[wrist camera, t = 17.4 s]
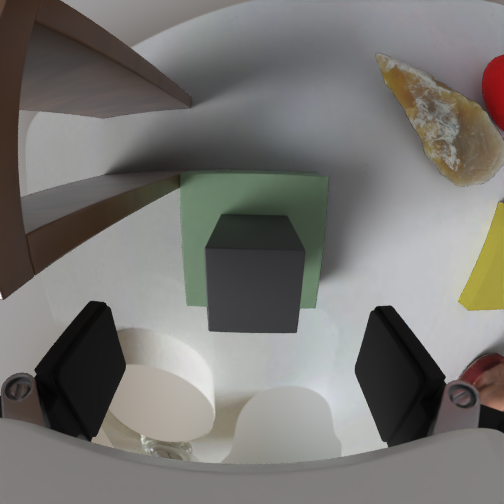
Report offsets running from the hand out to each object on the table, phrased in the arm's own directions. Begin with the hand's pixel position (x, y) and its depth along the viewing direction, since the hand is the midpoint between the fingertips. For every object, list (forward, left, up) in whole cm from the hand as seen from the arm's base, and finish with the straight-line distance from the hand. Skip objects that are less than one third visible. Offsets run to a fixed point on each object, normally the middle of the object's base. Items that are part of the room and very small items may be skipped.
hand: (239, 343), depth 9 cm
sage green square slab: (0, 0, -15) cm, 15 cm away
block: (+1, 0, -11) cm, 11 cm away
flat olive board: (+36, -2, -15) cm, 39 cm away
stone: (+15, +11, -15) cm, 24 cm away
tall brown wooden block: (-9, +7, -15) cm, 18 cm away
